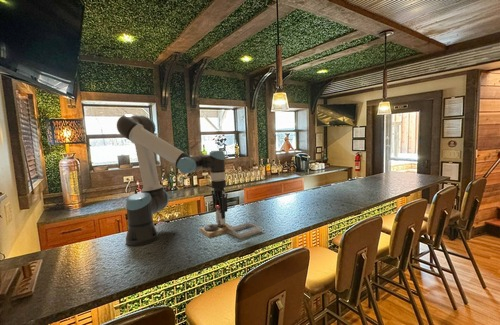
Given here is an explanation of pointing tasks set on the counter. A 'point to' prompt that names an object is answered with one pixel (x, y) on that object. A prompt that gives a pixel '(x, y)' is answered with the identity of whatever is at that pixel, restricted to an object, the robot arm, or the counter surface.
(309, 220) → the counter surface
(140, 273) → the counter surface
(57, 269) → the counter surface
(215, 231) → the tensioner block
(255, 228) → the tray
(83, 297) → the counter surface
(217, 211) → the lock pin
